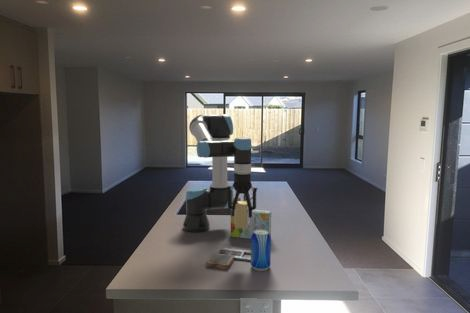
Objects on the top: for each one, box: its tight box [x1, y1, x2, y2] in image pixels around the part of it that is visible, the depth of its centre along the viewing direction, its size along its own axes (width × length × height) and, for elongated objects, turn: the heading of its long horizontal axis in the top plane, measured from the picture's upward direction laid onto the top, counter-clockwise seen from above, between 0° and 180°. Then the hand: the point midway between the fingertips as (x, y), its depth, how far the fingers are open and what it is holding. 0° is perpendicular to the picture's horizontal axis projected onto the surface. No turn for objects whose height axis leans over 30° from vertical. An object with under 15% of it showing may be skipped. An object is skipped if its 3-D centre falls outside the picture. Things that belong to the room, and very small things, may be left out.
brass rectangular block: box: [235, 200, 248, 229], centre depth 158 cm, size 5×5×11 cm
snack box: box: [230, 208, 272, 240], centre depth 186 cm, size 21×6×15 cm, turn 71°
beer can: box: [250, 229, 272, 272], centre depth 151 cm, size 8×8×16 cm
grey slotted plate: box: [217, 247, 251, 262], centre depth 163 cm, size 20×9×1 cm, turn 75°
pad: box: [205, 252, 235, 271], centre depth 156 cm, size 10×10×2 cm
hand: (241, 223), depth 158 cm, fingers closed on brass rectangular block, 5 cm apart
